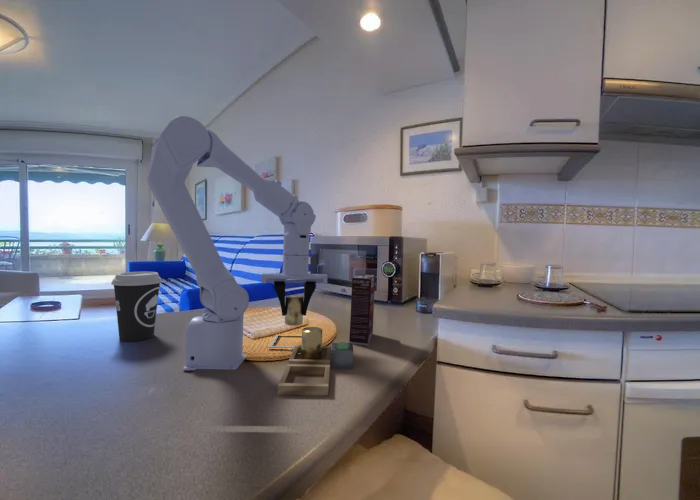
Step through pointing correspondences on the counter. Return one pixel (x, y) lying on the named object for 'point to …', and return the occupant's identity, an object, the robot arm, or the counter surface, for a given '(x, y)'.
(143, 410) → the counter surface
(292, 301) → the cylinder
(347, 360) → the button pedestal
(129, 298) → the coffee cup
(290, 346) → the grey square frame
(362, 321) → the supplement box
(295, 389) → the holder tray
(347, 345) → the button
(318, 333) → the seated billet
